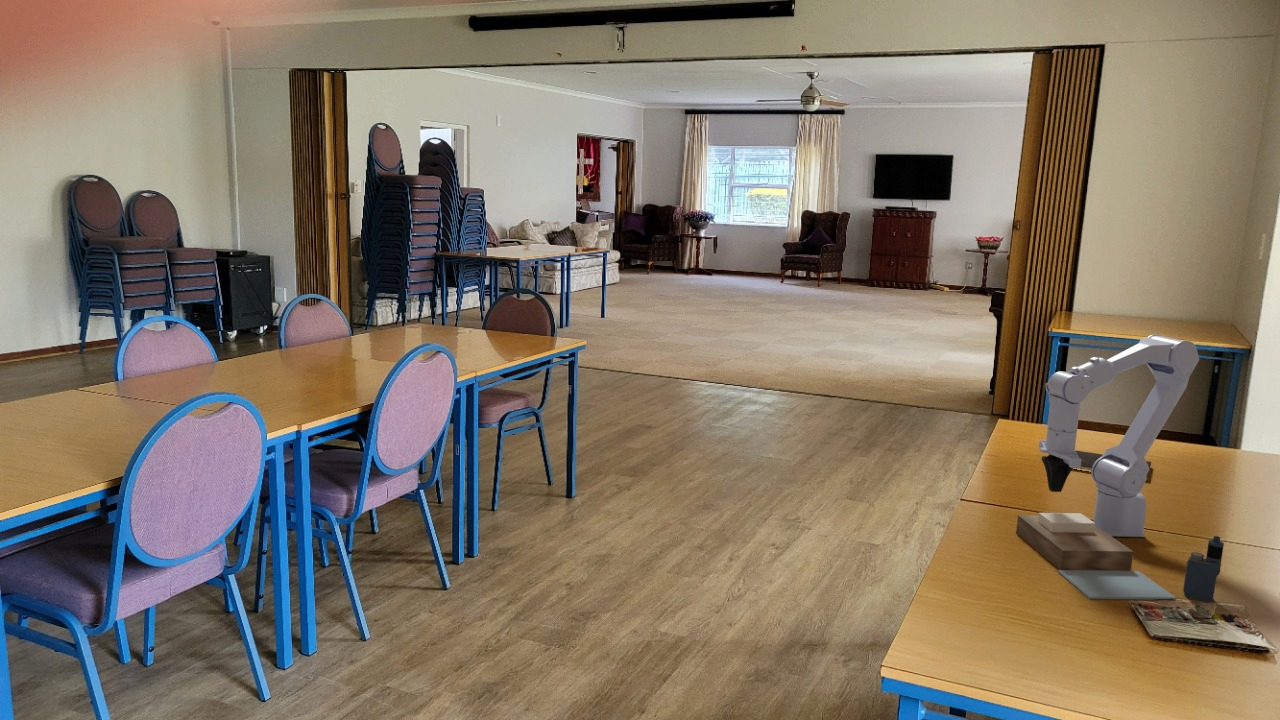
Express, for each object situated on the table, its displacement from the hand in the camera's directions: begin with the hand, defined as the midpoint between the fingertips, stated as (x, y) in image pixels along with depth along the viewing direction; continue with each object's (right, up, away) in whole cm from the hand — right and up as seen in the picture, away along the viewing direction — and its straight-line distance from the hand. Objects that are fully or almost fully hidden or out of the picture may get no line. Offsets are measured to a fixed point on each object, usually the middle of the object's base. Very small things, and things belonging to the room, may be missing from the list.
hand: (1055, 491), depth 200 cm
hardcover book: (+37, -2, +55) cm, 66 cm away
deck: (0, -11, -7) cm, 13 cm away
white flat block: (0, -7, -5) cm, 8 cm away
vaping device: (+14, -16, -28) cm, 35 cm away
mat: (+1, -14, -24) cm, 28 cm away
